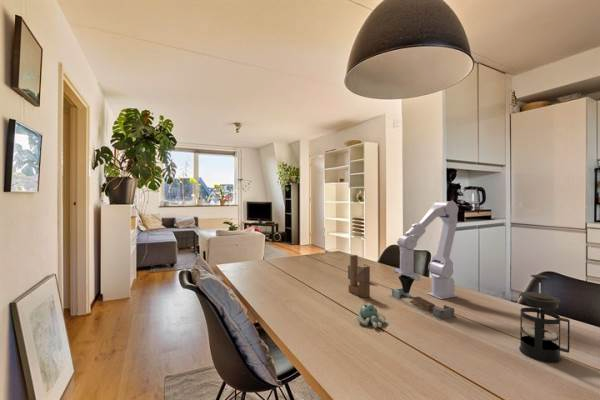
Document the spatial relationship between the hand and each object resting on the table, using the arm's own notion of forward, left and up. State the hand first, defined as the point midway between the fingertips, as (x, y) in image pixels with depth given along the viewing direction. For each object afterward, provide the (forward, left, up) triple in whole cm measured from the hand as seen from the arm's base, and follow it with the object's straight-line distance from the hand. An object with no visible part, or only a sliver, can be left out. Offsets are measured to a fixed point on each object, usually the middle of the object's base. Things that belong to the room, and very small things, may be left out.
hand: (406, 292), depth 130 cm
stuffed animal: (+29, +14, -4) cm, 32 cm away
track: (0, +8, -3) cm, 8 cm away
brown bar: (0, +10, -3) cm, 11 cm away
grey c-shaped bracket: (0, +20, -3) cm, 20 cm away
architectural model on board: (+3, -35, -4) cm, 35 cm away
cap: (0, -4, -3) cm, 5 cm away
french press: (-4, +51, -3) cm, 51 cm away
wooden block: (+16, -14, -3) cm, 21 cm away
